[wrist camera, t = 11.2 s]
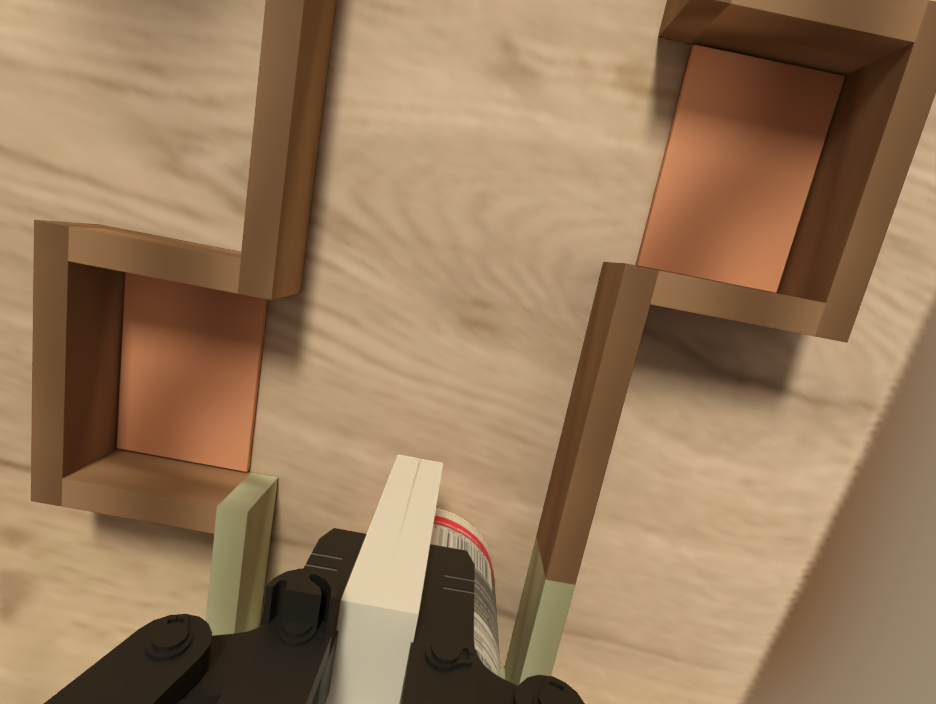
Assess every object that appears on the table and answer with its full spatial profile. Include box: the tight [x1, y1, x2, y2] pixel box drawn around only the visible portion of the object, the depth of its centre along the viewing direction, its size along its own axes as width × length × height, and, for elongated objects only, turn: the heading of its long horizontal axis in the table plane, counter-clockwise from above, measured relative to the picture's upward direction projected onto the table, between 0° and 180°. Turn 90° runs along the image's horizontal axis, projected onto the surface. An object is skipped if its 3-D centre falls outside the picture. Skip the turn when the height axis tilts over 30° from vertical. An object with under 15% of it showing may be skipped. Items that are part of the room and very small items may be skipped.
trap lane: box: [31, 0, 936, 686], centre depth 15 cm, size 24×31×3 cm
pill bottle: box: [366, 508, 501, 677], centre depth 14 cm, size 5×5×10 cm
